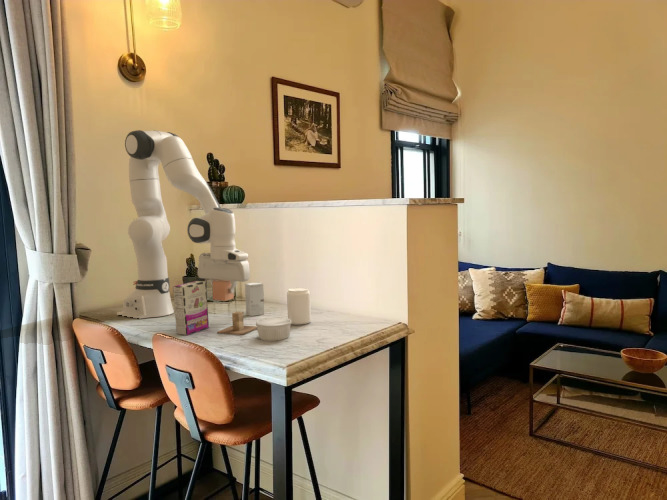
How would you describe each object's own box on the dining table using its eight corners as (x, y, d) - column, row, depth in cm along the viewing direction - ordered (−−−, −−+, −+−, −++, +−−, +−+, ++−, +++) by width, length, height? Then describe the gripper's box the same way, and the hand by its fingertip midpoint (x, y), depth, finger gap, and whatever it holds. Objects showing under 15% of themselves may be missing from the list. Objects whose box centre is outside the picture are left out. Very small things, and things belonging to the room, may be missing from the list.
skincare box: (250, 316, 194) (249, 284, 193) (245, 314, 198) (244, 283, 197) (265, 314, 197) (263, 283, 196) (260, 312, 201) (258, 281, 200)
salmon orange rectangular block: (212, 299, 182) (212, 281, 181) (221, 297, 186) (221, 279, 186) (225, 300, 180) (225, 282, 179) (233, 298, 184) (233, 280, 184)
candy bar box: (198, 326, 180) (195, 280, 178) (209, 328, 177) (206, 281, 176) (175, 334, 170) (172, 285, 168) (186, 335, 167) (183, 286, 166)
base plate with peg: (217, 333, 170) (216, 314, 169) (234, 326, 179) (233, 308, 178) (242, 335, 166) (242, 316, 165) (258, 328, 175) (258, 310, 174)
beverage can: (299, 326, 176) (297, 292, 174) (283, 323, 181) (282, 289, 180) (315, 322, 181) (314, 288, 180) (299, 319, 187) (298, 286, 186)
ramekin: (286, 342, 156) (286, 325, 156) (251, 341, 158) (250, 325, 158) (295, 333, 167) (295, 317, 167) (262, 332, 169) (262, 317, 168)
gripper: (193, 253, 183) (194, 291, 184) (242, 256, 175) (242, 296, 176) (204, 251, 188) (204, 288, 190) (252, 254, 180) (252, 293, 182)
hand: (223, 292), depth 183 cm, fingers closed on salmon orange rectangular block, 5 cm apart
